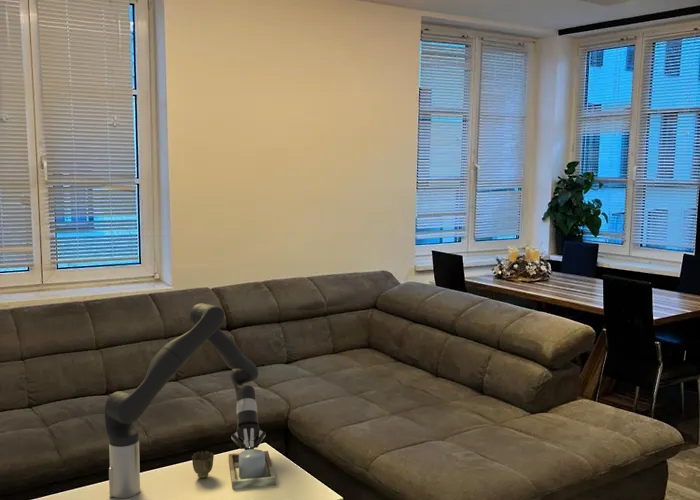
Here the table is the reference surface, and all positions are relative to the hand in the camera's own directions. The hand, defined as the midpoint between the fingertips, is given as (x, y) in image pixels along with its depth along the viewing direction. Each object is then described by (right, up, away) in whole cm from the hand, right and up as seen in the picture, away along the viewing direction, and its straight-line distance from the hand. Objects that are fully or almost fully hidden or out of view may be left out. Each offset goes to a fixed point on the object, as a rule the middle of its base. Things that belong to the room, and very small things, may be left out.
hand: (250, 458), depth 239 cm
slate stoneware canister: (+1, -4, -4) cm, 6 cm away
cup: (-15, -5, -6) cm, 17 cm away
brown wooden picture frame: (+1, -4, -2) cm, 5 cm away
